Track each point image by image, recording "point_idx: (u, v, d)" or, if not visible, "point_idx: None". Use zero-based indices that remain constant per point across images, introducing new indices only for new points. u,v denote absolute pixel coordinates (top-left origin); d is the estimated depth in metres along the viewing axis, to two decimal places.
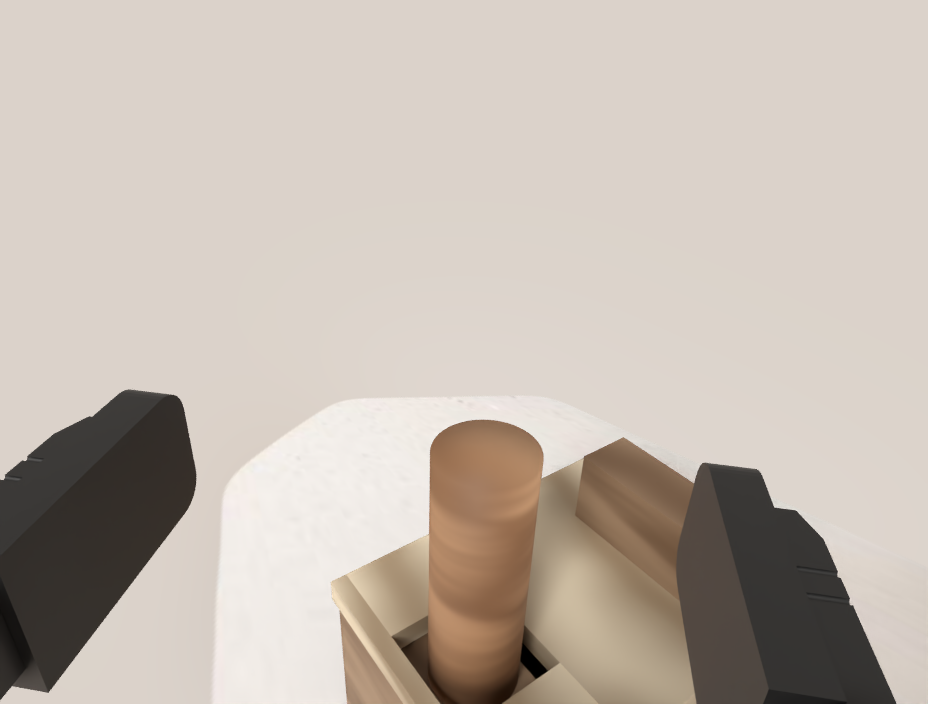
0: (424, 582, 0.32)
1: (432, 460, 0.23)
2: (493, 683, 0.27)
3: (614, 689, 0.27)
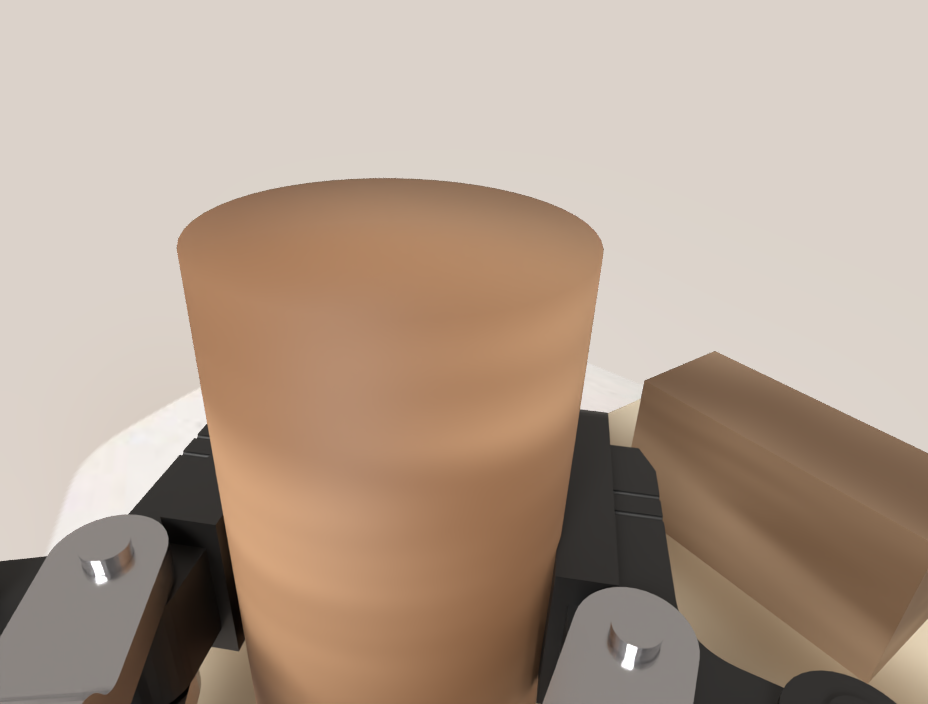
0: None
1: (181, 241, 0.06)
2: None
3: None
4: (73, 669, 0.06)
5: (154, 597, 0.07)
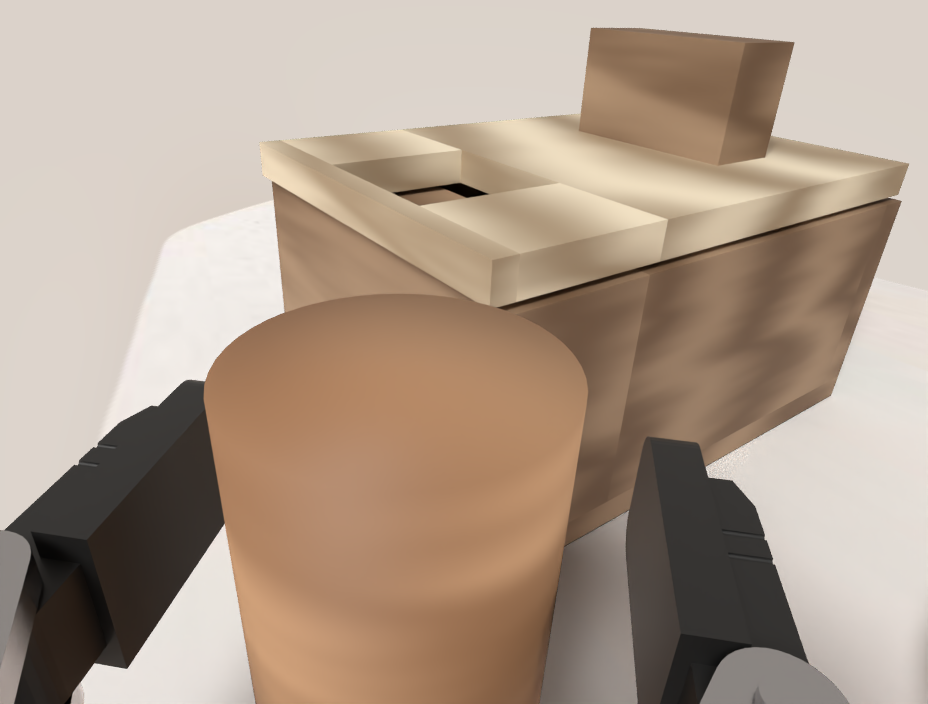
0: (382, 147, 0.24)
1: (207, 388, 0.07)
2: None
3: (634, 196, 0.20)
4: None
5: (23, 605, 0.07)
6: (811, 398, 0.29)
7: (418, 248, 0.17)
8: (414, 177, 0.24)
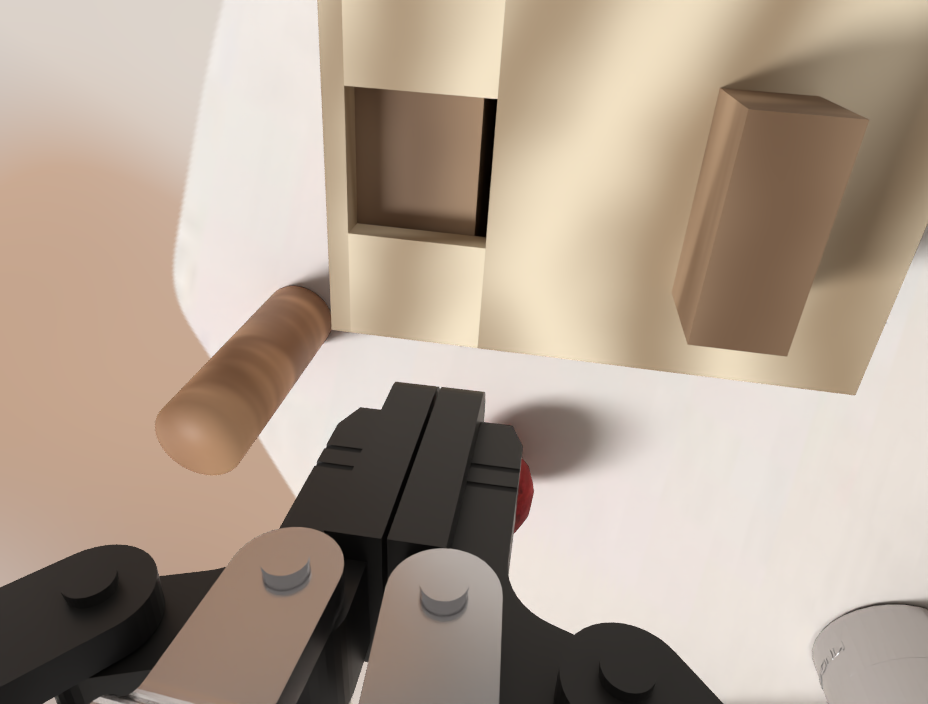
0: (428, 38, 0.21)
1: (156, 420, 0.29)
2: None
3: (506, 305, 0.25)
4: (233, 689, 0.06)
5: (320, 627, 0.07)
6: None
7: None
8: None
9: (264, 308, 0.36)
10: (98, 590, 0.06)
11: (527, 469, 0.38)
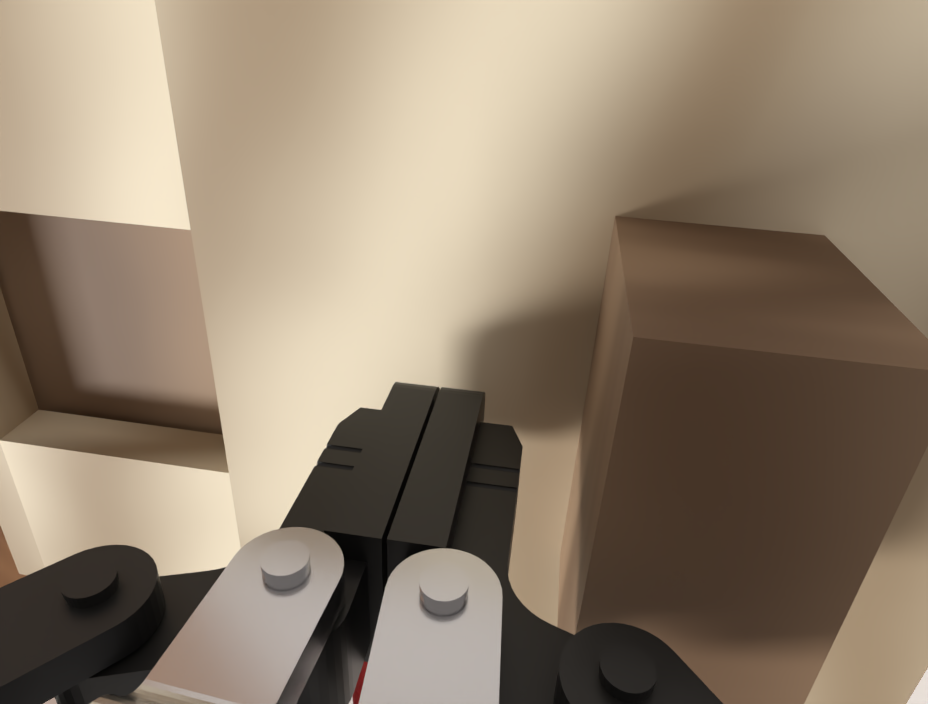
0: (35, 117, 0.11)
1: None
2: None
3: None
4: (233, 689, 0.06)
5: (320, 627, 0.07)
6: None
7: None
8: None
9: None
10: (98, 590, 0.06)
11: None
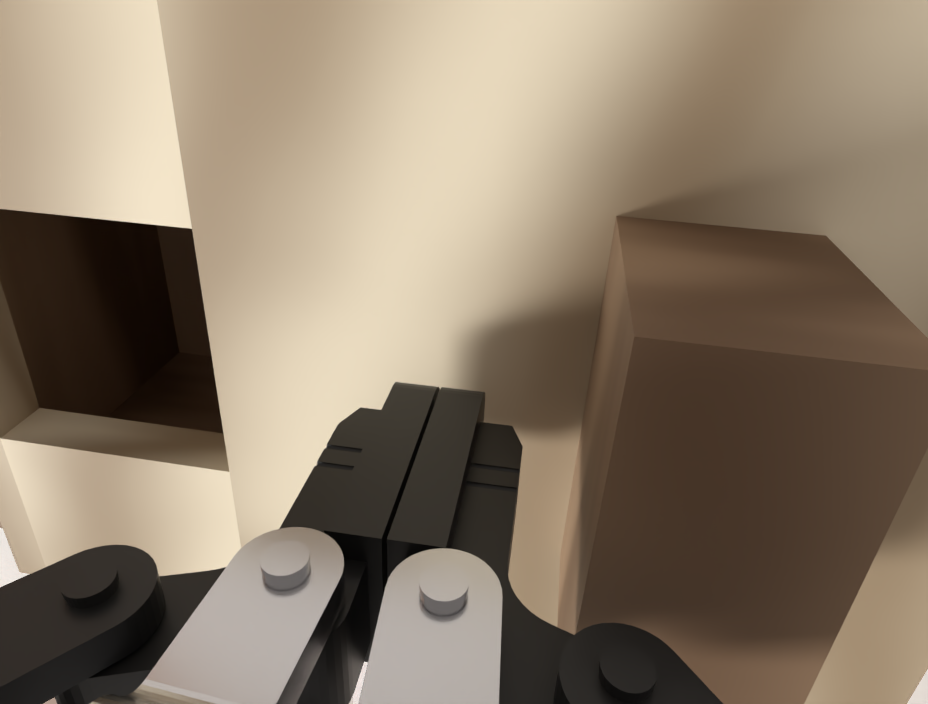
0: (37, 115, 0.11)
1: None
2: None
3: None
4: (234, 689, 0.06)
5: (320, 627, 0.07)
6: None
7: None
8: None
9: None
10: (99, 590, 0.06)
11: None
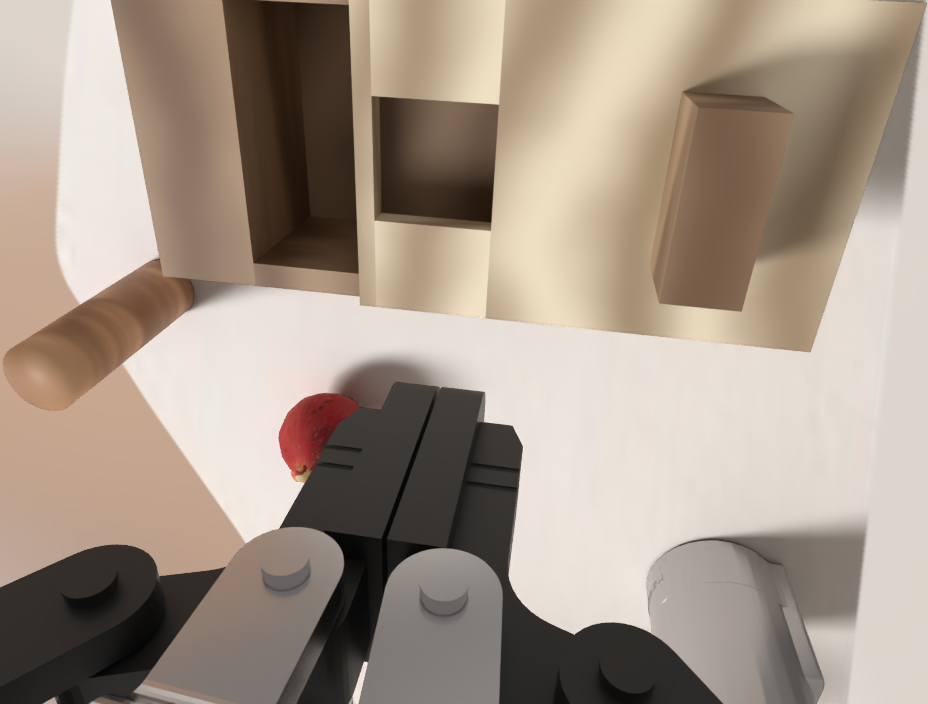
0: (441, 55, 0.26)
1: (3, 362, 0.34)
2: None
3: (509, 280, 0.30)
4: (233, 689, 0.06)
5: (320, 627, 0.07)
6: None
7: None
8: None
9: (125, 277, 0.42)
10: (98, 590, 0.06)
11: None
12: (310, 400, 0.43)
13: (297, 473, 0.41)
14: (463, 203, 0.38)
